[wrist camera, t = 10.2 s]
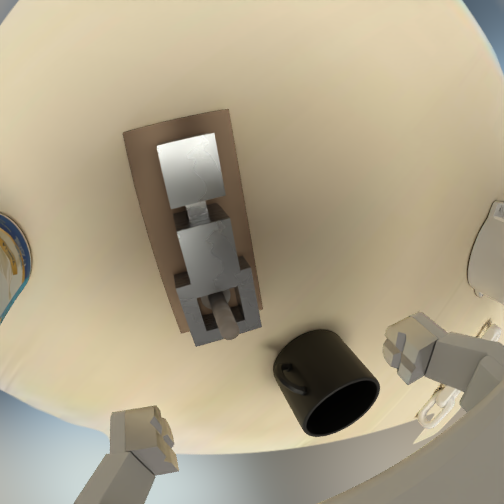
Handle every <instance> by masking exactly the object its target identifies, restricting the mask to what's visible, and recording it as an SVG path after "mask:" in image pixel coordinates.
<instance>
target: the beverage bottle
mask: <svg viewBox="0 0 504 504" xmlns="http://www.w3.org/2000/svg"><path fill="white" fill-rule="evenodd" d="M30 273H31V254H30V249H29V246H28V243H27V240H26V238H25V236H24V234H23V233H22V231H21V230H20V228H19V227H18V226H17V225H16V224H15V223H14V222H13V221H12V220H11V219H10V218H8V217H7V216H5V215H3V214H0V324H1V323H2V321H3V319H4V318H5V316H6V314H7V313H8V311H9V309H10V308H11V306H12V304H13V303H14V301H15V300H16V298H17V297H18V295H19V294H20V293H21V291H22V290H23V289H24V287H25V286H26V284H27V282H28V280H29V277H30Z"/></svg>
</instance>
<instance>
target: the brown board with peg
mask: <svg viewBox="0 0 504 504" xmlns="http://www.w3.org/2000/svg"><path fill="white" fill-rule="evenodd" d="M202 133H214V134H215V140H216V145H217V151H218V156H219V162H220V167H221V172H222V178H223V183H224V189H225V194H226V196H222V197H218V198H214V199H210V200H206V205H209V204H213V203H218V205H219V206H220V207H221V208H222V209H223V210H224V212H225V213H226V214H227V215H228V216H229V217H230V220H231V225H232V231H233V236H234V241H235V246H236V251H237V256H238V257H240V256H243V257H244V258H245V260H246V261H247V262H248V264H249V265H250V267H251V270H252V276H253V281H254V287H255V292H256V298H257V304H258V309H259V310H262V309H263V307H262V301H261V295H260V289H259V283H258V277H257V272H256V266H255V260H254V254H253V248H252V242H251V236H250V231H249V225H248V219H247V213H246V207H245V201H244V196H243V190H242V184H241V178H240V172H239V166H238V161H237V155H236V149H235V143H234V137H233V131H232V126H231V120H230V114H229V109H225V110H219V111H213V112H208V113H202V114H197V115H192V116H188V117H183V118H178V119H174V120H170V121H165V122H161V123H157V124H153V125H149V126H145V127H142V128H138V129H134V130H131V131H127V132H124V133H123V136H124V141H125V146H126V151H127V155H128V159H129V164H130V168H131V172H132V177H133V181H134V185H135V189H136V193H137V196H138V200H139V204H140V208H141V211H142V215H143V219H144V222H145V226H146V229H147V233H148V236H149V240H150V243H151V246H152V250H153V253H154V256H155V259H156V262H157V266H158V269H159V272H160V275H161V278H162V281H163V284H164V287H165V290H166V293H167V296H168V299H169V301H170V304H171V307H172V310H173V313H174V315H175V318H176V321H177V324H178V326H179V329H180V332H181V333H185V332H189V331H190V329H189V326H188V323H187V321H186V318H185V315H184V312H183V309H182V306H181V303H180V300H179V297H178V294H177V291H176V287H175V280H174V275H175V274H179V273H182V272H186V271H187V268H186V264H185V261H184V257H183V254H182V250H181V246H180V242H179V239H178V235H177V231H176V226H175V221H174V217H173V214H174V213H178V212H182V211H186V207H185V206H182V207H178V208H174V209H171V207H170V203H169V199H168V195H167V191H166V186H165V182H164V178H163V173H162V169H161V164H160V160H159V155H158V150H157V144H159V143H163V142H167V141H171V140H175V139H180V138H184V137H188V136H193V135H198V134H202ZM197 301H198V304H199V308H200V311H201V314H202V316H203V315H207V314H210V313H213V314H214V317H215V320H216V323H217V325H218V328H219V331H220V334H221V336H222V338H224V339H226V340H231V339H234V338H236V337H237V336H238V335H239V332H240V330H239V327H238V325H237V323H236V321H235V318H234V316H233V314H232V312H231V310H230V308H231V307H234V306H237V305H238V304H237V299H236V295H235V290H234V288H231V289H227V290H224V291H220V292H217V293H213V294H210V295H206V296H203V297H199V298H197Z"/></svg>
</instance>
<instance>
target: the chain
mask: <svg viewBox="0 0 504 504" xmlns="http://www.w3.org/2000/svg"><path fill="white" fill-rule="evenodd" d="M500 335H501V328H500V327H498V326H497V325H496V324H492V325H491V326H490V327H489V328H488V329H487V330H486V332H485V333H484V335H483V336H482V338H481V339H485V340H490V341H495V342H497V341H498V339H499V337H500ZM460 392H461V391H460V390H458V389H455V388H452V387H450V386H447V385H446V386H445V388H444V389H441V390H438V391H437V392H436V393H435V394H434V395H433V396H432V397H431V398H430V400H429V401H428V402H427V403H426V404H425V405H424V406H423V407H422V408H421V410H420V411H419V412H418V421H419V423H420V424H421V426H423V427H424V428H428V429H430V428H434V427H435V426H436V425H437V424H438V423H439V422H440V421H441V420H442V419H443V418H444V417H445V416H446V415H447V413H448V412H449V411H450V410H451V409H452V408H453V406H454V404H455V398H456V397H457V395H458V394H459V393H460ZM435 403H437V405H438V406H439V407H441V408H443V409H442V410H441V411H440V413H439V414H438V415H437V416H436V417H435V418H434V419H433V420H432V421H428V420H427V418H426V414H427V412H428V411H429V409H430V408H431V407H432V406H433V405H434V404H435Z"/></svg>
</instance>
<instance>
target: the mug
mask: <svg viewBox="0 0 504 504" xmlns="http://www.w3.org/2000/svg"><path fill="white" fill-rule="evenodd" d="M274 377H275V379H276V381H277V383H278V385H279V387H280V389H281V391H282V392H283V394H284V396H285V398H286V400H287V402H288V404H289V405H290V407H291V409H292V411H293V413H294V415H295V416H296V418H297V420H298V422H299V424H300V425H301V427H302V429H303V431H304V432H305V433H306V434H308V435H309V436H314V437H321V436H327V435H330V434H333V433H336V432H338V431H340V430H343V429H344V428H346V427H348V426H350V425H351V424H353V423H354V422H356V421H357V420H358V419H359V418H361V417H362V416H363V415H364V414H365V413H366V412H367V411H368V410H369V409H370V408H371V406H372V405H373V404H374V402H375V401H376V399H377V397H378V395H379V391H380V385H379V382H378V380H377V379H376V378H375V377H374V376H373V375H372V373H371V372H370V371H369V370H368V369H367V368H366V367H365V365H364V364H363V363H362V362H361V361H360V360H359V359H358V357H357V356H356V355H355V354H354V353H353V352H352V351H351V349H350V348H349V347H348V346H347V345H346V344H345V343H344V342H343V340H342V339H341V338H340V337H339V336H338V335H337V334H335V333H333V332H331V331H327V330H316V331H311V332H308V333H306V334H303V335H301V336H299V337H298V338H296V339H294V340H293V341H292V342H290V343H289V344H288V345H287V346H286V347H285V348H284V349H283V350H282V351H281V353H280V354H279V356H278V357H277V359H276V362H275V365H274Z"/></svg>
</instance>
